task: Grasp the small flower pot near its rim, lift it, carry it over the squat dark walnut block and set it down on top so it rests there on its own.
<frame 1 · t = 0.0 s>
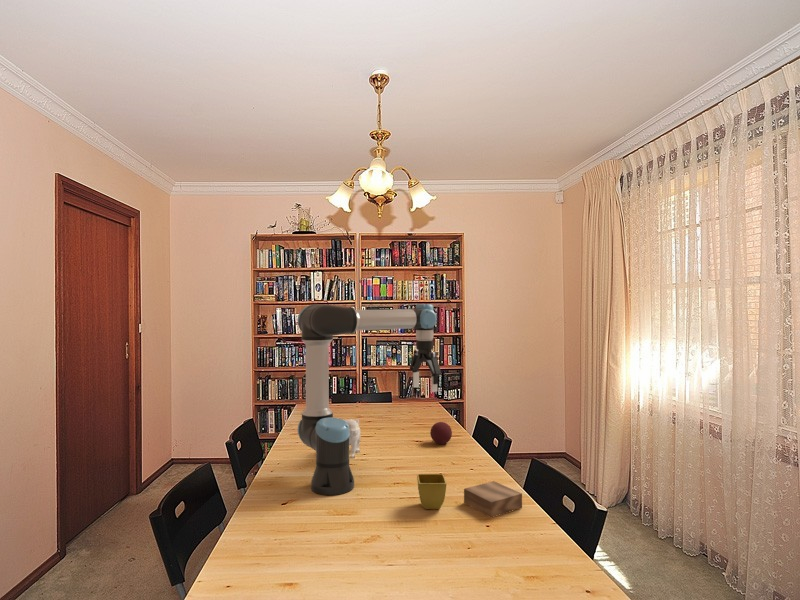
hand: (424, 389, 214), 28 cm above the table, fingers open, 13 cm apart
cat figurine: (348, 454, 215), on the table
walnut block: (492, 506, 160), on the table
decorative ball: (441, 444, 230), on the table
flower pot: (431, 507, 160), on the table
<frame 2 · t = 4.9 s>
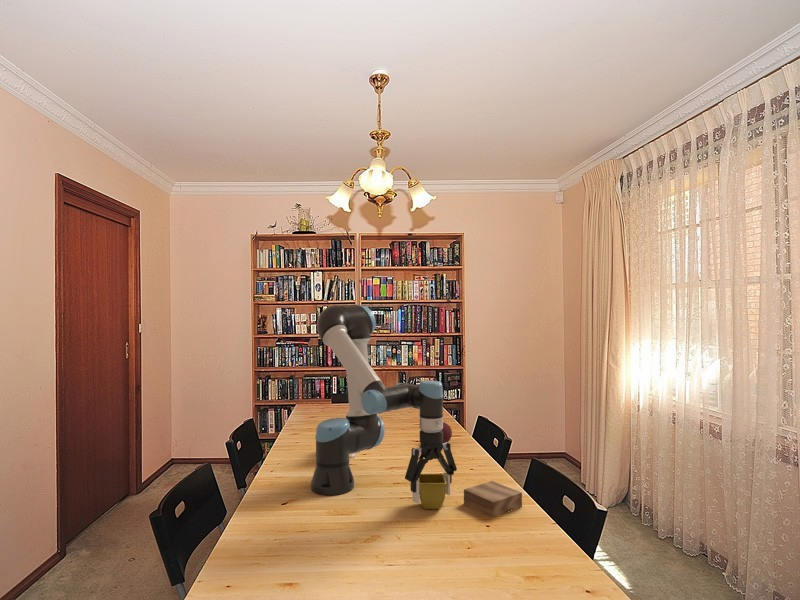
hand: (431, 497, 160), 3 cm above the table, fingers closed on flower pot, 11 cm apart
flower pot: (431, 506, 160), on the table, touching gripper
everything else where it was.
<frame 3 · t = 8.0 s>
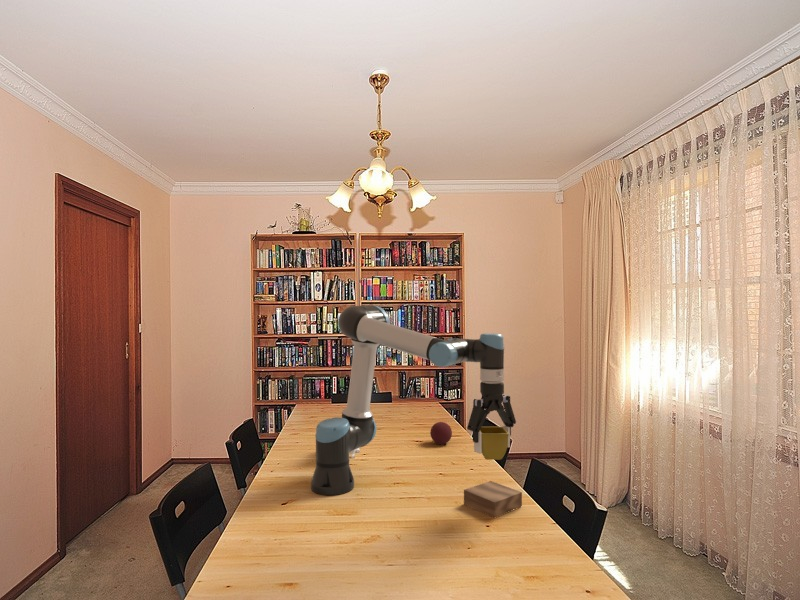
hand: (492, 449, 160), 18 cm above the table, fingers closed on flower pot, 11 cm apart
flower pot: (492, 458, 160), point 15 cm above the table, touching gripper
everything else where it was.
when the fingers open (8 cm above the table, at t = 11.2 s): flower pot stays where it is, resting on walnut block.
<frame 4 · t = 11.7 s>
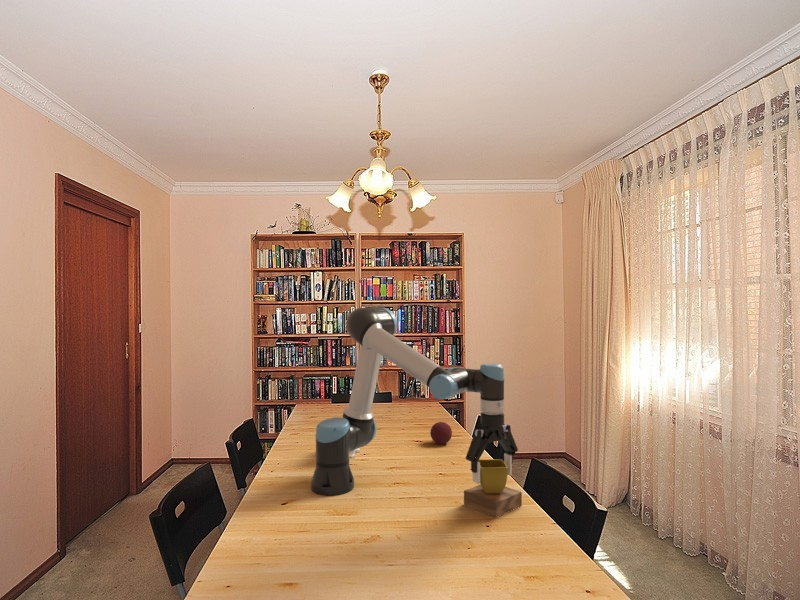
hand: (492, 478, 160), 9 cm above the table, fingers open, 13 cm apart
walnut block: (492, 506, 160), on the table, touching flower pot
flower pot: (492, 492, 160), point 4 cm above the table, touching walnut block
everything else where it was.
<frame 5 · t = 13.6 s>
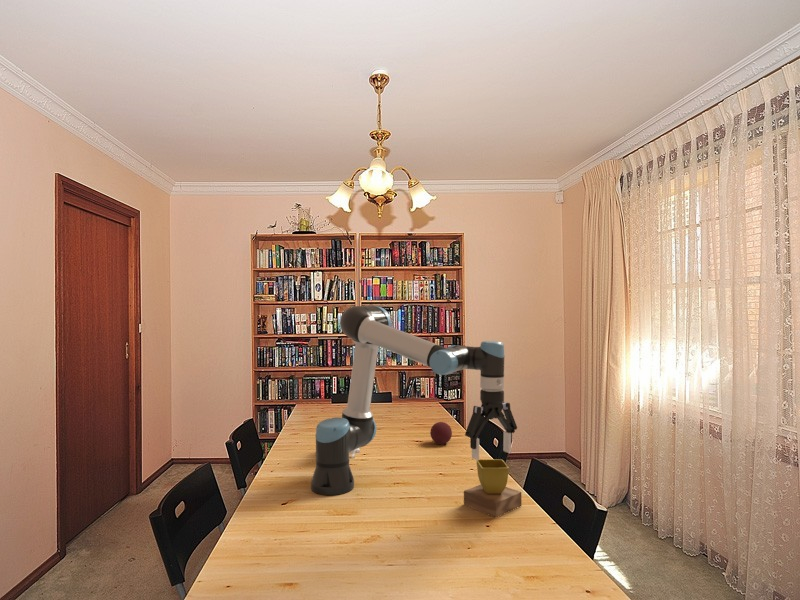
hand: (491, 455, 160), 16 cm above the table, fingers open, 13 cm apart
nothing on the table moved.
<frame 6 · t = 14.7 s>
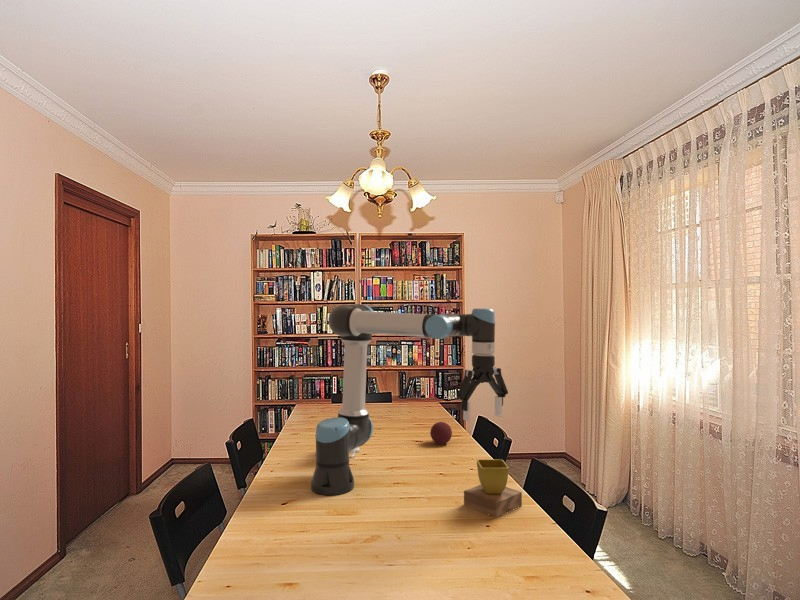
hand: (482, 418, 166), 27 cm above the table, fingers open, 13 cm apart
nothing on the table moved.
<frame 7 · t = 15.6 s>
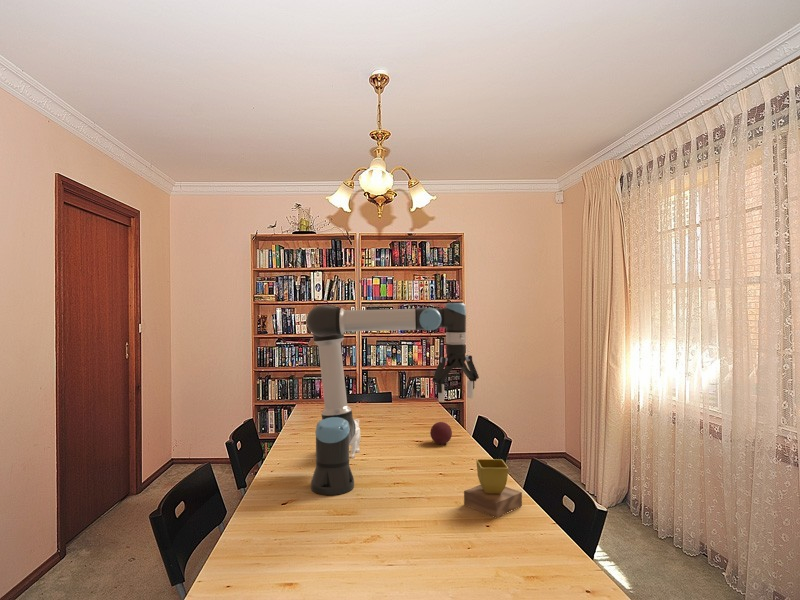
hand: (456, 399, 188), 29 cm above the table, fingers open, 13 cm apart
walnut block: (492, 507, 160), on the table
flower pot: (491, 491, 160), point 4 cm above the table
everything else where it was.
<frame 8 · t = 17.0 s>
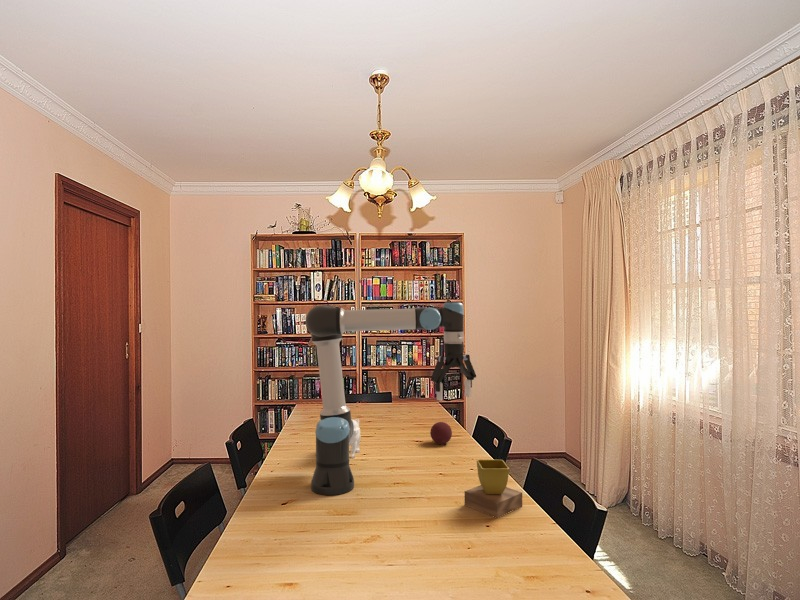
hand: (453, 398, 190), 29 cm above the table, fingers open, 13 cm apart
nothing on the table moved.
at the end: flower pot inside the target area on the walnut block (0.2 cm from its centre), point 4.9 cm above the walnut block's base; flower pot tilted 2°; flower pot touching nothing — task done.
